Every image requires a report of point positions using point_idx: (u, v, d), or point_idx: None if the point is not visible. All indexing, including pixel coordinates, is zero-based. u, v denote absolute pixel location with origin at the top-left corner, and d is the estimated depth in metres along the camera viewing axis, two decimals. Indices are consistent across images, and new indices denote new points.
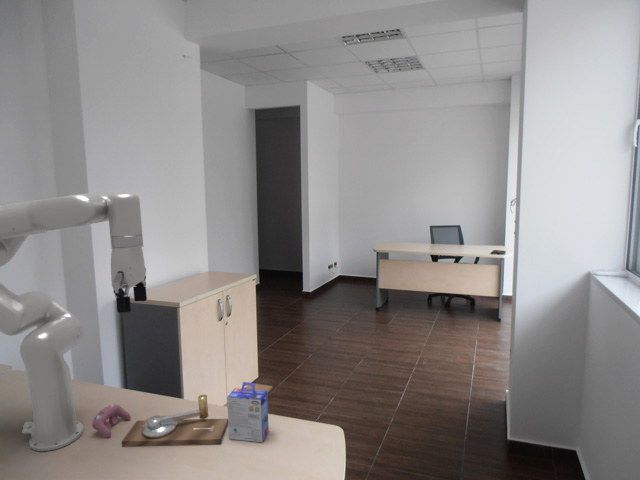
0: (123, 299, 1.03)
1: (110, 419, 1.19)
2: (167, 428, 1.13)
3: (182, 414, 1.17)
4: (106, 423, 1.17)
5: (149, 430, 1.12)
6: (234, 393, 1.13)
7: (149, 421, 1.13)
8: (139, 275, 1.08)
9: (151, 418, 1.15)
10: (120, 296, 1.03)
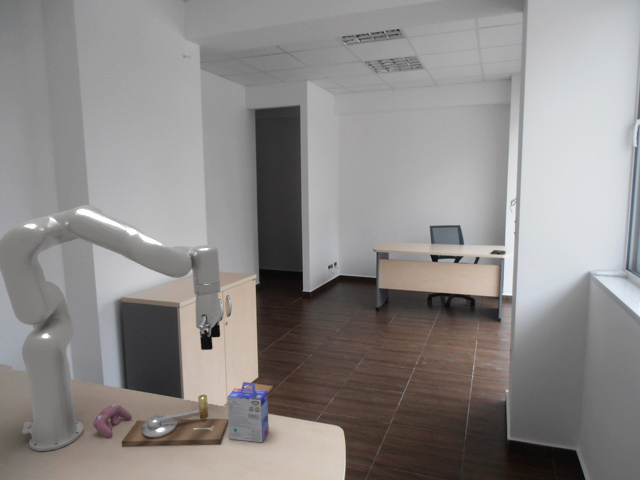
0: (207, 338, 1.19)
1: (111, 419, 1.19)
2: (167, 428, 1.13)
3: (182, 414, 1.17)
4: (107, 423, 1.17)
5: (149, 430, 1.12)
6: (234, 393, 1.13)
7: (149, 421, 1.13)
8: (217, 315, 1.24)
9: (151, 418, 1.15)
10: (204, 336, 1.19)
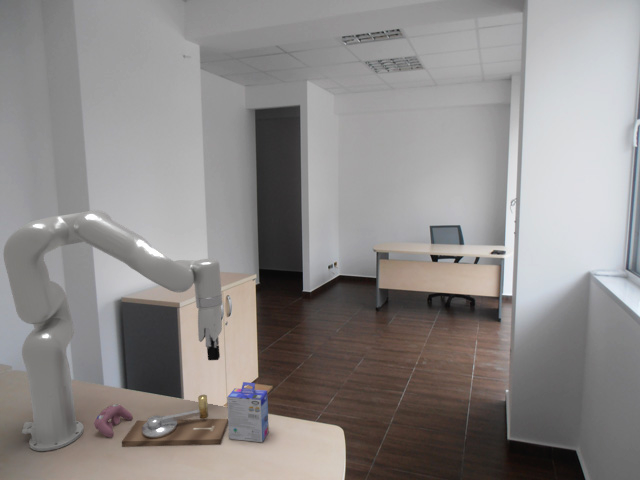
0: (213, 349, 1.25)
1: (112, 419, 1.19)
2: (167, 428, 1.13)
3: (182, 414, 1.17)
4: (108, 423, 1.17)
5: (149, 430, 1.12)
6: (234, 393, 1.13)
7: (149, 421, 1.13)
8: (219, 328, 1.25)
9: (151, 418, 1.15)
10: (211, 347, 1.24)
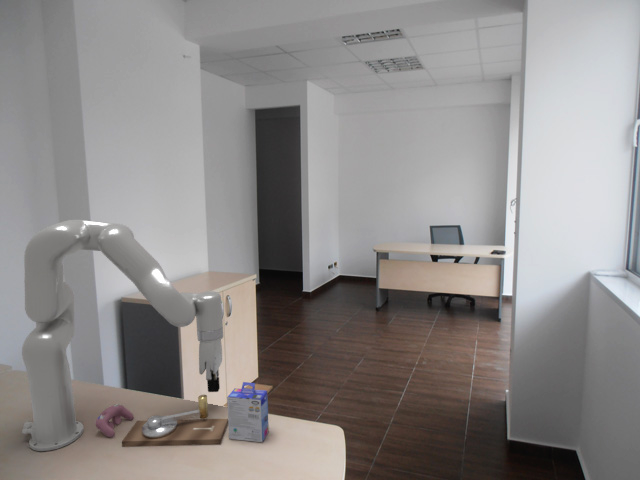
0: (213, 382, 1.26)
1: (113, 419, 1.19)
2: (167, 428, 1.13)
3: (182, 414, 1.17)
4: (109, 423, 1.17)
5: (149, 430, 1.12)
6: (234, 393, 1.13)
7: (149, 421, 1.13)
8: (219, 360, 1.26)
9: (151, 418, 1.15)
10: (211, 379, 1.25)
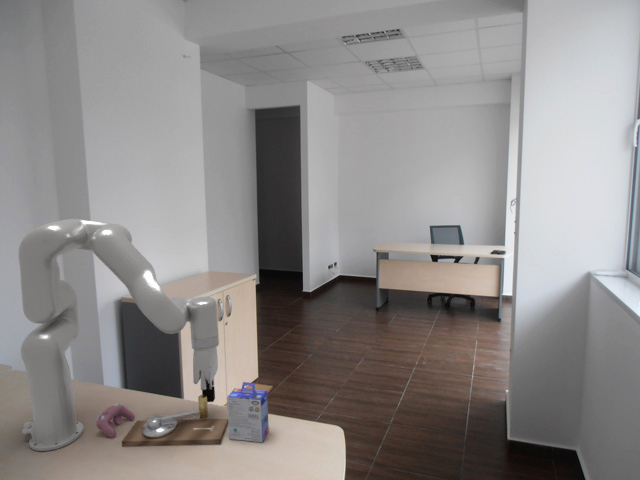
0: (208, 391, 1.20)
1: (114, 419, 1.19)
2: (167, 428, 1.13)
3: (182, 414, 1.17)
4: (110, 423, 1.17)
5: (149, 430, 1.12)
6: (234, 393, 1.13)
7: (149, 421, 1.13)
8: (215, 369, 1.21)
9: (151, 418, 1.15)
10: (206, 389, 1.19)
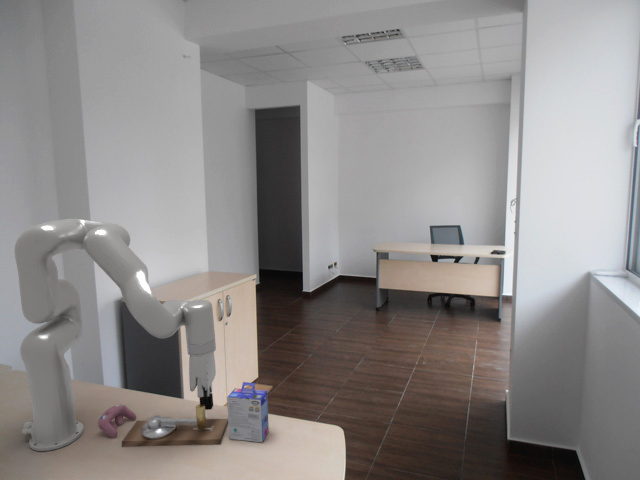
0: (206, 399, 1.15)
1: (116, 419, 1.19)
2: (162, 431, 1.12)
3: (180, 420, 1.14)
4: (112, 423, 1.17)
5: (147, 429, 1.13)
6: (234, 393, 1.13)
7: (148, 420, 1.14)
8: (212, 375, 1.15)
9: (152, 417, 1.15)
10: (204, 396, 1.14)
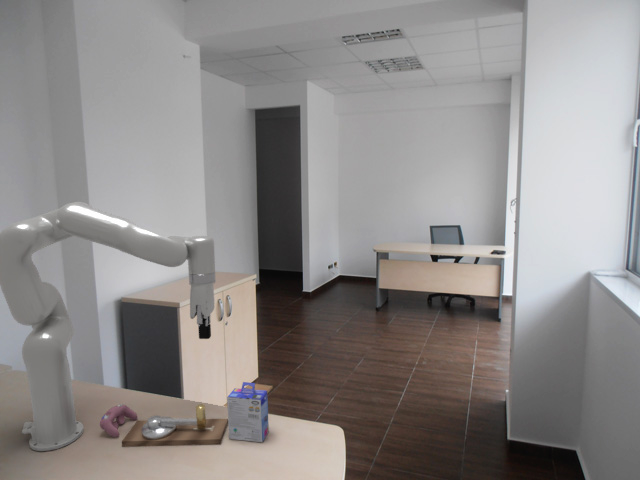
0: (204, 328, 1.23)
1: (117, 419, 1.19)
2: (162, 431, 1.12)
3: (180, 420, 1.14)
4: (113, 423, 1.17)
5: (147, 429, 1.13)
6: (234, 393, 1.13)
7: (148, 420, 1.14)
8: (211, 307, 1.24)
9: (152, 417, 1.15)
10: (202, 325, 1.23)
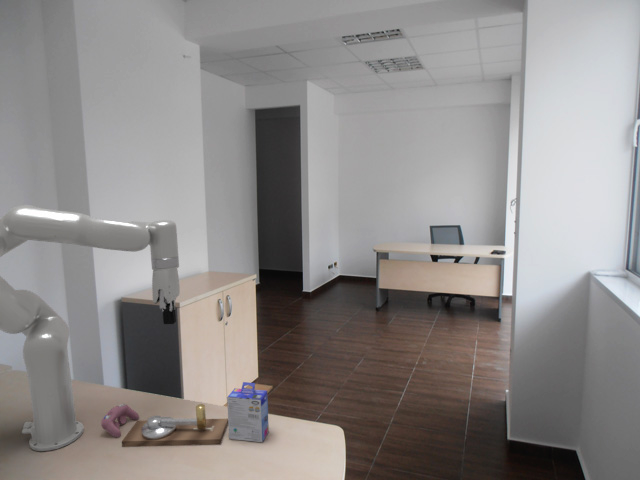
0: (169, 313, 1.23)
1: (118, 419, 1.19)
2: (162, 431, 1.12)
3: (180, 420, 1.14)
4: (115, 423, 1.17)
5: (147, 429, 1.13)
6: (234, 393, 1.13)
7: (148, 420, 1.14)
8: (175, 291, 1.24)
9: (152, 417, 1.15)
10: (166, 310, 1.22)
